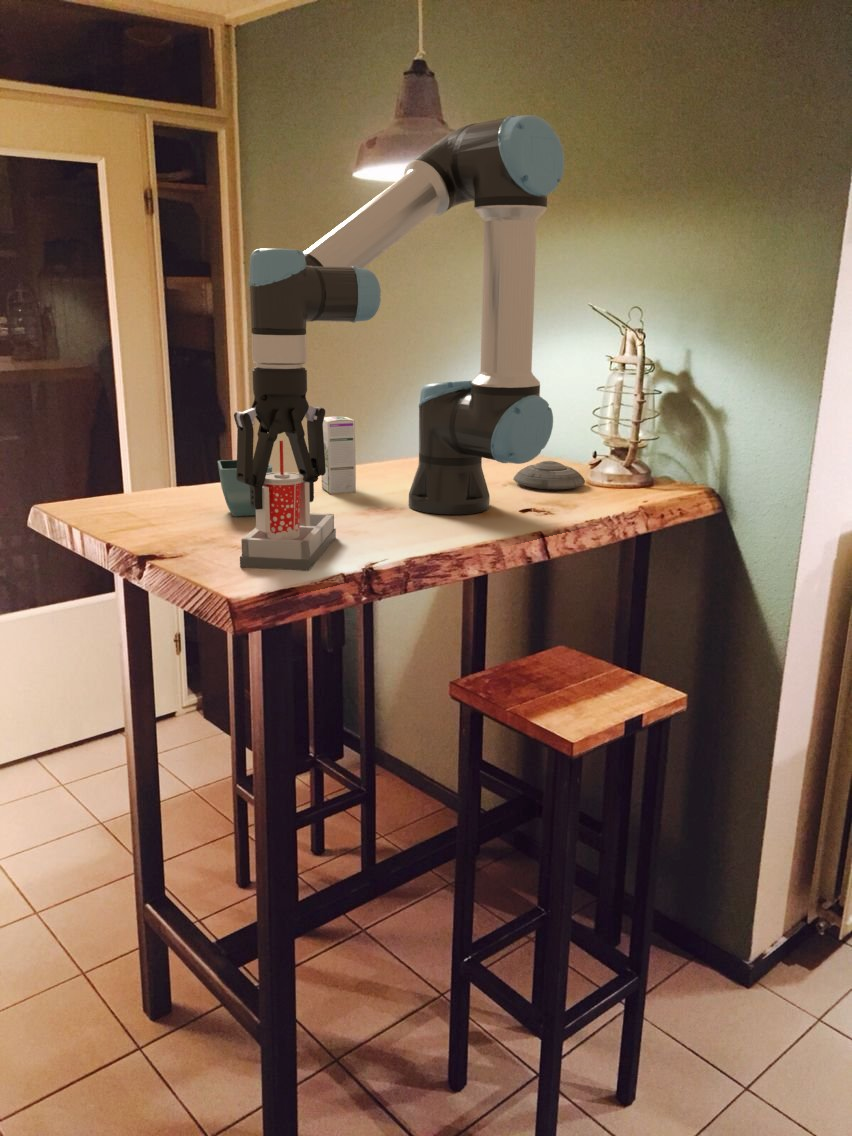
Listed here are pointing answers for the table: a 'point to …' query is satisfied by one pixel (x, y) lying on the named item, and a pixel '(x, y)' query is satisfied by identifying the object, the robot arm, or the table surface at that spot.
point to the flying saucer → (549, 476)
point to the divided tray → (289, 546)
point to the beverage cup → (284, 502)
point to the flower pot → (235, 489)
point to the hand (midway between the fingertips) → (283, 527)
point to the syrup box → (339, 455)
